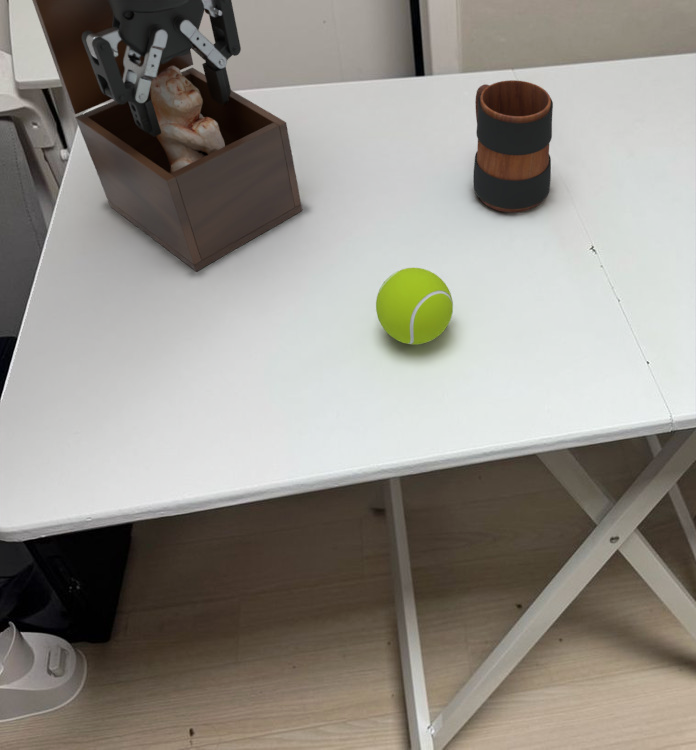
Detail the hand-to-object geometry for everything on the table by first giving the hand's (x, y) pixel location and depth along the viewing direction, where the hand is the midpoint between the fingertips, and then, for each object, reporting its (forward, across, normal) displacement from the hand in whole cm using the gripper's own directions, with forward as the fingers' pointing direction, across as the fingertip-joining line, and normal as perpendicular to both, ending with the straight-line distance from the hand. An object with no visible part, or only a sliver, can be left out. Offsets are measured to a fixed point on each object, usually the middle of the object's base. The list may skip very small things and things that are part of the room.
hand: (187, 116), depth 81 cm
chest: (+12, 0, -2) cm, 12 cm away
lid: (-8, 0, -8) cm, 11 cm away
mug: (+12, -26, +19) cm, 34 cm away
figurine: (+11, 0, 0) cm, 11 cm away
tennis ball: (+12, -2, +29) cm, 31 cm away
